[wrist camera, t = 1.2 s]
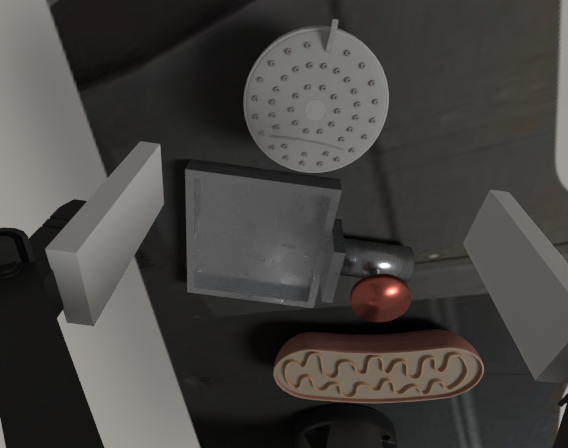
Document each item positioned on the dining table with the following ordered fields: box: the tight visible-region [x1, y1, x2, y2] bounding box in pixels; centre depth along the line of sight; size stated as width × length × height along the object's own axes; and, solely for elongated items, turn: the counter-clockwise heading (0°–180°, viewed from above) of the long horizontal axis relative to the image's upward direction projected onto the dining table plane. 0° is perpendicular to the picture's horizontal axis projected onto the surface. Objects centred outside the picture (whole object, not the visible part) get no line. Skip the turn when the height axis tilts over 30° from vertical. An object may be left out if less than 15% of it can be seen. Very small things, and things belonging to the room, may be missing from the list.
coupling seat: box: [185, 159, 414, 322], centre depth 36 cm, size 22×14×7 cm
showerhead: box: [243, 19, 389, 173], centre depth 27 cm, size 9×7×10 cm
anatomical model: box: [273, 329, 484, 403], centre depth 45 cm, size 23×10×5 cm, turn 95°
